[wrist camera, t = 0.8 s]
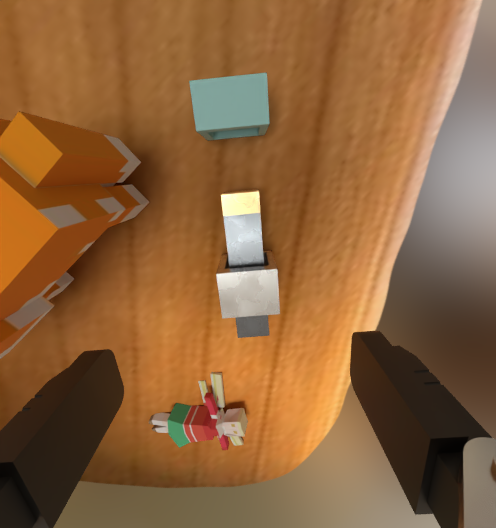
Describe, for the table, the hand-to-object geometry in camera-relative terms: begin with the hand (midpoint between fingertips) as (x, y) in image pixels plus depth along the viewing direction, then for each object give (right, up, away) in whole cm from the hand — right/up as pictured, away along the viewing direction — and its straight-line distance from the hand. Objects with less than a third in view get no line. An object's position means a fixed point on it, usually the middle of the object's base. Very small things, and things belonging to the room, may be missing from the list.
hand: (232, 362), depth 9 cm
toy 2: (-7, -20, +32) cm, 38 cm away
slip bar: (+1, +4, +22) cm, 22 cm away
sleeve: (+1, +2, +23) cm, 23 cm away
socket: (-1, +18, +18) cm, 25 cm away
